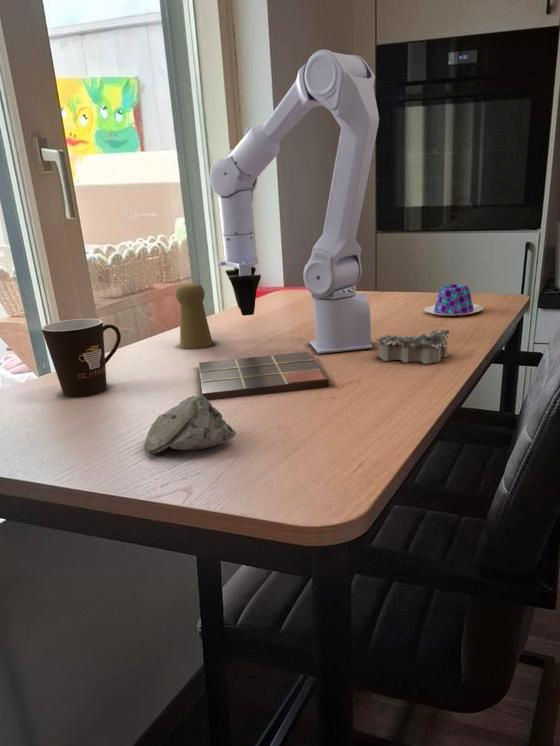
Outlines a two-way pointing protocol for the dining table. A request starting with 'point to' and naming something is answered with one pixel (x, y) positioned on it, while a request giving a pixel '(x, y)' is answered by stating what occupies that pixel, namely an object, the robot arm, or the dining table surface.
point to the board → (260, 375)
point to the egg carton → (414, 347)
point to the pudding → (454, 301)
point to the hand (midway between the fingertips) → (246, 311)
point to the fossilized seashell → (188, 427)
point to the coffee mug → (79, 355)
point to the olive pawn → (193, 317)
